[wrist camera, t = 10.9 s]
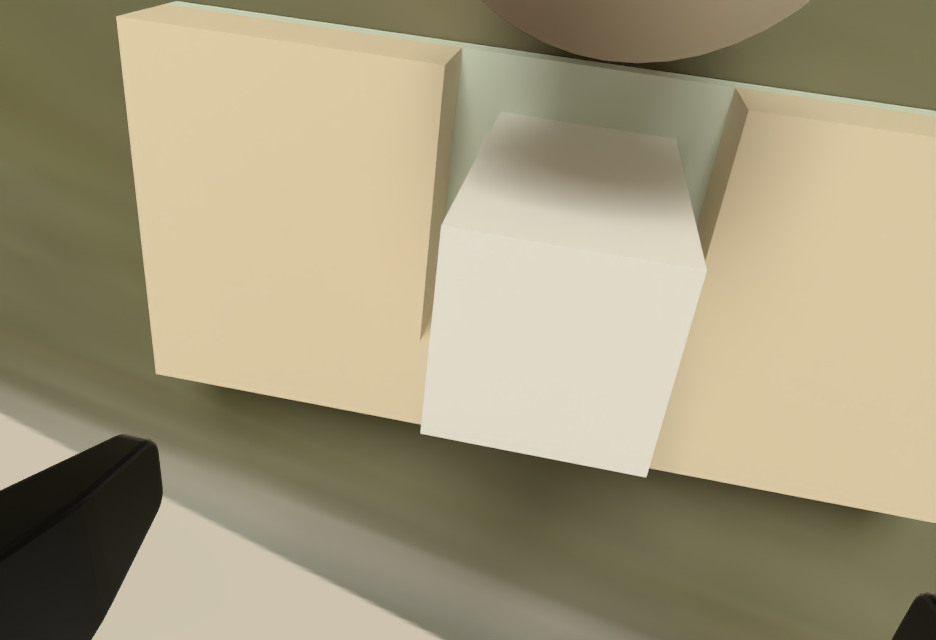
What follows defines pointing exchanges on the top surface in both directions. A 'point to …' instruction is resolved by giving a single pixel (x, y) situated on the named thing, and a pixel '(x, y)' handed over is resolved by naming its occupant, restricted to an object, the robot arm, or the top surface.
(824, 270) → the notched board
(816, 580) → the top surface
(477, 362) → the block
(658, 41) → the bobbin
